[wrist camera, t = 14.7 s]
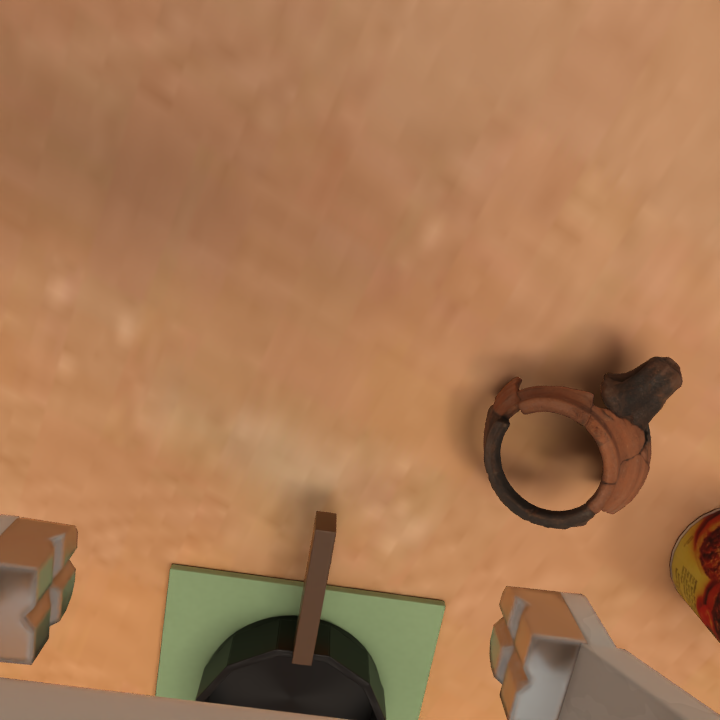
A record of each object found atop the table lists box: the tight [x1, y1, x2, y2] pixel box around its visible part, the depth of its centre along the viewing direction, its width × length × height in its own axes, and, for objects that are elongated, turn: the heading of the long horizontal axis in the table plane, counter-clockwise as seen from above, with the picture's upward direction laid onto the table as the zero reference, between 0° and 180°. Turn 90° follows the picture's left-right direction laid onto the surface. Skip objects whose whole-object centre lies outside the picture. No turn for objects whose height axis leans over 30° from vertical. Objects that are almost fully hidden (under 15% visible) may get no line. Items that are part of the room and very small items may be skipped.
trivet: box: [155, 564, 445, 720], centre depth 45 cm, size 18×16×1 cm
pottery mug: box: [484, 357, 683, 529], centre depth 38 cm, size 12×10×8 cm
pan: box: [195, 511, 386, 720], centre depth 42 cm, size 12×21×4 cm, turn 170°
